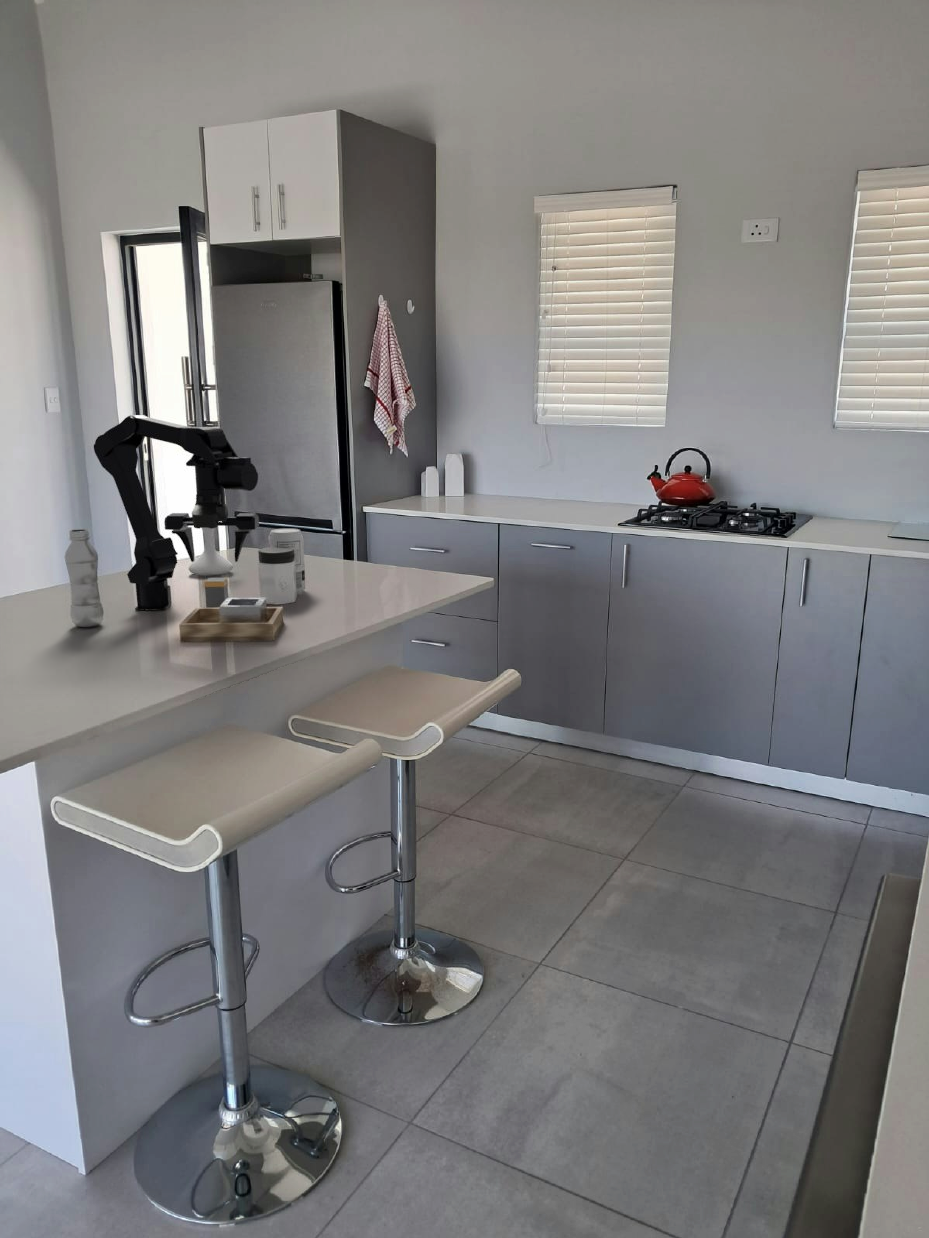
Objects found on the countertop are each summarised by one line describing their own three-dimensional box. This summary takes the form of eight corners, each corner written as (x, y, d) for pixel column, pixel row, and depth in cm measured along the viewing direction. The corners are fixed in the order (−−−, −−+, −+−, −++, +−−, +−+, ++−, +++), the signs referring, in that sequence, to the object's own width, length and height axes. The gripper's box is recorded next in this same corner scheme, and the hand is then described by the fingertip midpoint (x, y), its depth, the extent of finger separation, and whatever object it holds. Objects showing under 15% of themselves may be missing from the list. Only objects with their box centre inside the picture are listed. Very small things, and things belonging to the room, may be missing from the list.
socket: (221, 636, 185) (219, 606, 183) (228, 626, 192) (227, 597, 191) (261, 635, 185) (259, 606, 184) (267, 625, 193) (266, 597, 191)
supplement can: (264, 594, 222) (261, 532, 218) (283, 587, 229) (280, 527, 225) (293, 597, 219) (290, 534, 215) (311, 590, 226) (309, 529, 222)
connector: (206, 618, 199) (204, 581, 197) (210, 613, 203) (208, 577, 201) (226, 618, 199) (223, 581, 197) (229, 613, 203) (227, 577, 201)
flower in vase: (227, 578, 239) (221, 481, 232) (183, 578, 239) (176, 481, 232) (239, 569, 251) (234, 476, 245) (198, 568, 251) (191, 476, 245)
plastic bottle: (73, 631, 188) (63, 533, 183) (70, 624, 193) (60, 529, 188) (107, 628, 190) (97, 531, 186) (102, 620, 196) (93, 527, 191)
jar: (267, 606, 209) (264, 554, 206) (253, 599, 216) (251, 548, 213) (303, 601, 214) (301, 550, 211) (289, 595, 221) (287, 545, 218)
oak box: (180, 641, 180) (179, 624, 180) (196, 623, 194) (195, 607, 193) (273, 641, 181) (272, 623, 181) (283, 623, 195) (282, 606, 194)
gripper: (154, 492, 186) (160, 569, 190) (248, 493, 187) (252, 568, 191) (168, 486, 197) (174, 559, 201) (257, 486, 198) (261, 558, 202)
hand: (214, 561), depth 198 cm, fingers open, 9 cm apart
